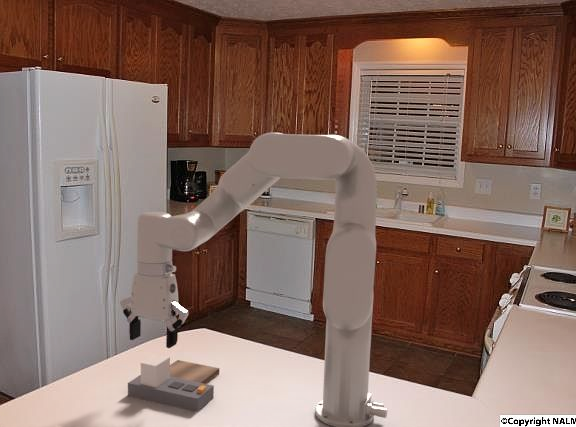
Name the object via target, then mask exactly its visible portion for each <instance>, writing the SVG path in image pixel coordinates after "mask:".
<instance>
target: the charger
mask: <svg viewBox="0 0 576 427" xmlns="http://www.w3.org/2000/svg"><path fill="white" fill-rule="evenodd" d="M170 365H171V357H170V356H166V355H161V354H156V353H155V354H152V356H150V357H148V358H146V359H145V360H143V361H142V362H140V375H141V384H143V385H147V386H151V387H158V386H159V385H160V384H162V383H163V382H165V381H166V380H168V379H169V378H170Z"/></svg>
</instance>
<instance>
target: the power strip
mask: <svg viewBox="0 0 576 427" xmlns="http://www.w3.org/2000/svg"><path fill="white" fill-rule="evenodd" d="M214 386H215V385H212V384H209V383H207V384H204V383H199V382H194V381H190V380H185V379H180V378H175V377H171V376H170V378H169V379H168V380H166V381H165V382H163V383H162V384H160V385H159V386H158V387H151V386H147V385H143V384H141V374H140V375H138V376H136V377H134V378H133V379H131V380H130V381H129V382H127V396H128V397H132V398H137V399H140V400H145V401H150V402H154V403H158V404H163V405H167V406H170V407H176V408H178V409H183V410H189V411H193V412H196V413H198V412H199V411H200V410H202V409H203V408H204V407H205V406H207V405H208V404H209V403H210V402H211V401H212V400H213V399H214V394H215V392H214V389H215V387H214Z"/></svg>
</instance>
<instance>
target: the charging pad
mask: <svg viewBox="0 0 576 427" xmlns="http://www.w3.org/2000/svg"><path fill="white" fill-rule="evenodd" d="M219 375H220V367H215V366H210V365H207V364H206V365H205V364H198V363H195V362H190V361H184V360H180V359H178V360H175V361H173V363H170V376H171V377H175V378H180V379H185V380H190V381H194V382H199V383H204V384H209V383H210V382H212V380H214V379H215V378H216V377H217V376H219Z"/></svg>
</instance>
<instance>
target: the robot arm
mask: <svg viewBox="0 0 576 427" xmlns="http://www.w3.org/2000/svg"><path fill="white" fill-rule="evenodd" d="M281 178H283V179H294V180H295V179H298V180H299V179H302V180H320V181H323V180H325V181H326V180H327V181H328V180H333V181H334V184H335V196H334V217H333V226H332V227H333V228H332V233H331V235H330V237H329V239H328V241H327V244H326V250H325V260H324V273H323V274H324V276H323V277H324V278H323V293H322V294H323V296H322V309H323V312H324V316H325V318H326V326H325V345H324V366H323V367H324V368H323V388H322V389H323V392H322V398H323V399H322V400H319V401H318V403H317V404H316V405H315V416H316V417H317V419H319V421H321V423H323V424H326V425H328V426H331V427H366V426H368V425H369V424H371V423H372V422H373V421H374V418H375V417H379V418H382V419H383V418H384V419H386V418H387V416H388V408H385V404H384V403H382V402H377V401H376V402H375V401H374V400H373V399H372V393H369V378H370V360H371V359H370V358H371V345H372V344H371V343H372V322H373V307H374V285H375V273H376V272H375V271H376V269H375V268H376V260H377V259H376V255H377V239H376V224H377V223H376V222H377V200H378V199H377V198H378V197H377V196H378V185H377V184H378V183H377V181H378V180H377V174H376V171H375V168H374V166H373V163H372V161H371V159H370V157H369V155H368V154H367V153H366V152H365V151H364V150H363V149H362V147H360V146H358V145H357V144H356V143H355V142H353V141H352V140H349V138H347V137H344V136H343V135H337V134H295V133H294V134H292V133H291V134H290V133H281V132H266V133H262V134H261V135H259V136H257V137H256V138H255V139H254V140H253V141H252V143H251V145H250V148H249V151H248V152H246V153H245V154H244V155H243V156H242V157H241V158H240V159H239V160H237V161H236V163H234V164H233V165H232V166H231V167H230V168H228V169H227V170H226V171H225V172H224V173H223V174H222V175H221V177H220V178H219V180H218V184H217V186H216V187H215V189H214V190H213V192H211V193H210V194H209V195H208V196H207V197H206V198H205V199H204V200H203V201H202V202H201V203H199V204H198V205H197V206H196V207H195V208H194V209H192V210H191V211H189V212H187V213H184V214H182V215H178V216H172V215H171V214H170V213H168V212H165V211H144V212H141V213H140V214H139V215H138V217H137V230H136V231H137V237H136V239H137V240H136V242H137V243H136V246H137V248H136V272H135V273H134V276H133V278H132V279H133V281H132V284H131V292H130V296H128V297H127V298H124V299H121V300H120V301H119V304H120V306H121V309H122V313H123V315H124V316H125V318H126V322H127V323H128V324H129V328H128V329H129V332H128V333H129V340H130V341H134V340H136V339H138V338H140V336H141V332H142V331H141V330H142V328H141V325H142V324H141V323H142V321H141V319H140V318H143V319H148V320H152V321H153V320H154V321H157V322H158V321H159V322H164V324H165V325H166V327H167V329H168V330H167V331H166V337H165V338H166V339H165V340H166V342H165V343H166V346H165V347H166V348H167V349H171V348H173V347H174V346H177V342H178V337H179V336H178V335H179V328H181V326H182V325H184V323H185V322H186V319H187V318H188V316H189V310H187V309H186V308H184V307H183V306H181V305H180V304H179V290H178V282H177V278H176V274H174V273H175V272H176V271H177V266H176V265H173V251H180V252H190V251H192V250H194V249H196V248H197V247H199V246H200V245H202V244H204V243H205V242H207V241H208V240H210V239H211V238H212V237H213V236H215V235H216V234H217V233H218V232H219V231H220V230H222V229H223V228H224V227H225V226H226V225H227V224H228V223H229V222H231V221H232V220H234V218H235V217H236V216H238V215H239V214H240V213H241V212H243V211H245V210H246V209H247V208H248V207H249V206H250V205H251V204H252V203H254V202H255V201H256V200H257V199H258V198H260V196H261V195H262V194H264V193H265V192H266V191H267V190H268V189H269V188H270V187H272V186H273V185H274V184H276V183H277V182H278V181H279V180H280V179H281ZM178 315H179V316H178ZM177 316H178V318H177Z"/></svg>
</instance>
